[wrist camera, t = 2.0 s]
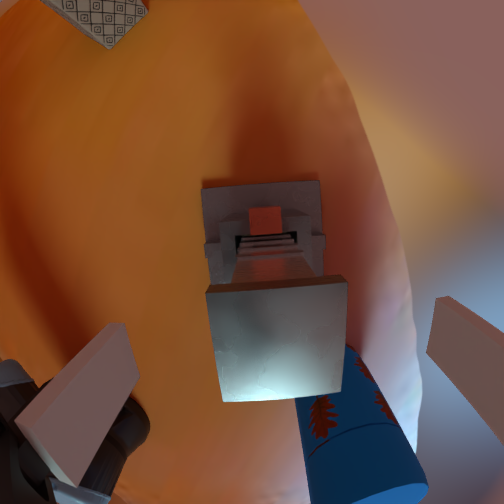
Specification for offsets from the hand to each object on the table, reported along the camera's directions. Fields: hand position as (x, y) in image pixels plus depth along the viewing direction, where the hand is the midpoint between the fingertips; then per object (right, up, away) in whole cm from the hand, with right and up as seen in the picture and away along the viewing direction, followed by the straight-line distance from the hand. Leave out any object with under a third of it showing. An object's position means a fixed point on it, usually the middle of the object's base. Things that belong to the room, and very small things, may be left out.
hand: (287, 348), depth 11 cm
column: (0, +5, +23) cm, 23 cm away
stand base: (0, +5, +24) cm, 25 cm away
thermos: (+10, -14, +28) cm, 33 cm away
